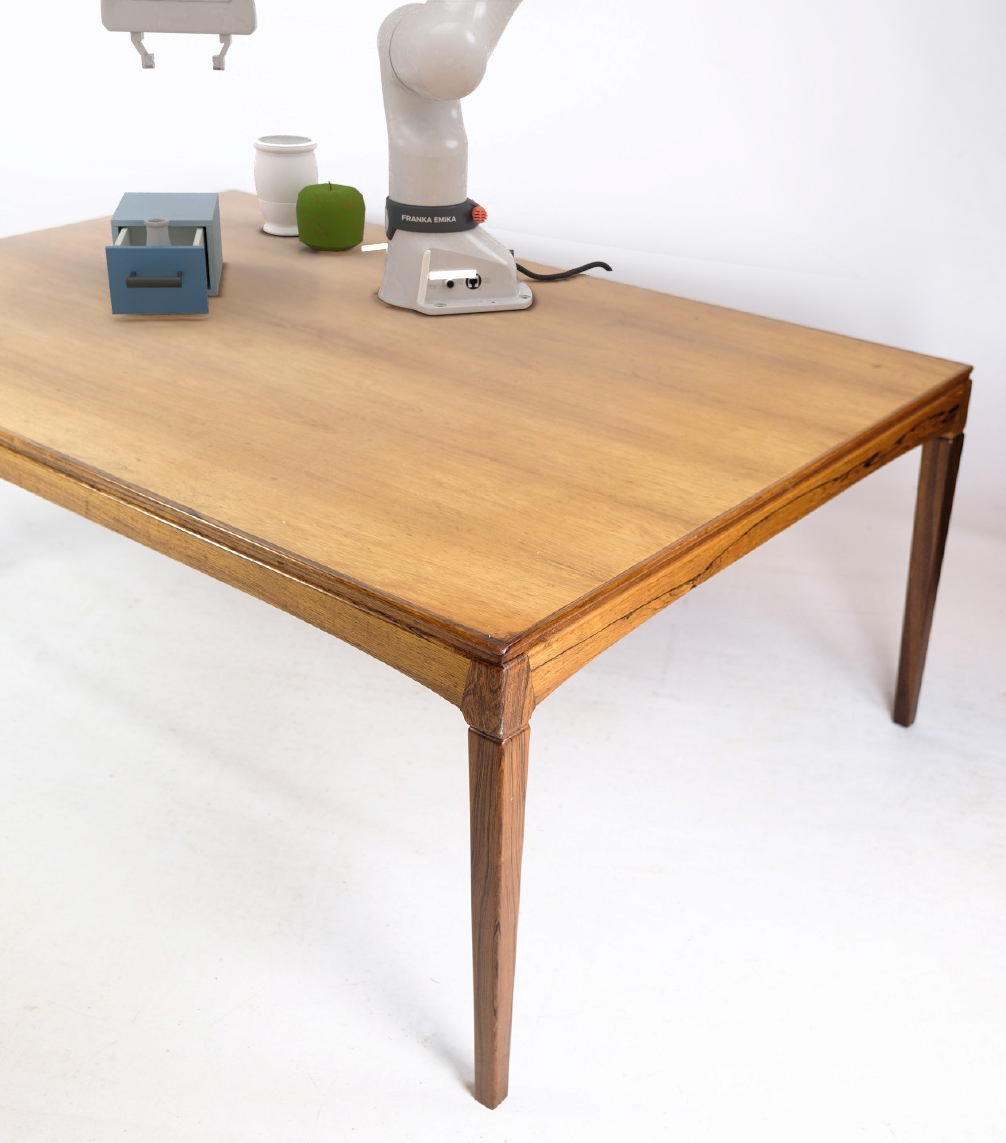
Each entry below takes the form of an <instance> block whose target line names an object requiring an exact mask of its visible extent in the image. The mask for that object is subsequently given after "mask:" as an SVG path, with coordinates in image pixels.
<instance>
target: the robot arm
mask: <svg viewBox="0 0 1006 1143" xmlns="http://www.w3.org/2000/svg"><path fill="white" fill-rule="evenodd" d="M523 1H524V0H426V1H425V3H422V2H411V3H407V4H404V5H402V6H399V7H397V8H396V9H394V10H392V11H391V12H390V13H389V14H388V15H387V16H386V17H385V18H384V19H383V21H382V22H381V24H380V26H379V28H378V31H377V34H376V35H377V36H376V50H377V54H378V55H377V56H378V60H379V71H380V83H381V91H382V101H383V108H384V117H385V122H386V131H387V144H388V195H387V196H386V197H385V206H384V231H385V232H384V233H385V236H386V238H387V241H386V243H378V244H377V243H376V244H370V245H369V244H368V245H362V246H361V251H362V252H366V251H376V250H383V249H386V253H385V261H384V267H383V273H382V277H381V281H380V286H379V290H378V292H377V297H378V298H379V299H380V300H382V301H383V302H385V303H387V304H389V305H391V306H395V307H399V308H406V309H410V310H414V311H417V312H420V313H422V314H425V315H431V316H437V315H438V316H439V315H453V314H469V313H482V312H484V313H485V312H496V311H511V310H523V309H525V310H526V309H527V308H529V307H530V306H531V305H532V304H533V300H534V299H533V292H532V290H531V287H529V286H528V285H527V283H525V282H524V281H522V280H520V279H519V276H518V275H519V274H518V272H520V273H521V274H523V275H524V276H526V277H528V278H530V279H532V280H536V281H542V282H543V281H547V282H548V281H555V280H561V279H567V278H569V277H572V276H574V275H577V274H582V273H584V272H586V271H589V270H591V269H594V268H601V269H603V270H605V271H606V272H613V271H614V270H613V268H612V267H611V265H609V264H608V263H606V262H604V261H600V260H599V261H592V262H589V263H586V264H584V265H581V266H579V267H575V268H572V269H569V270H566V271H563V272H557V273H551V274H540V273H535V272H533V271H531V270H529V269H527V268H525V267H524V266H522V265H521V264H519V263H517V262H516V260H515V249H508V248H507V247H506V246H505V245H504V244H503V243H501V242H500V241H499V240H498V239H497V238H496V237H494V236H493V235H492V234H491V233H489V232H488V231H487V230H486V229H485V228H483V226H481V225H480V224H484V223H485V222H486V221H487V220H488V212H487V211H486V208H484V207H483V206H481V204H480V203H477V202H476V201H475V200H474V199H471V198H470V197H468V173H469V172H468V170H469V169H468V168H469V167H468V166H469V165H468V164H469V159H468V158H469V140H468V136H467V132H466V128H465V123H464V118H463V117H464V116H463V112H462V111H463V110H462V105H461V104H462V103H461V99H463V98H466V97H468V96H470V94H472V93H473V92H474V91H476V89H477V88H478V87H479V86H480V84H481V83H482V82H483V79H484V77H485V74H486V71H487V66H488V62H489V60H490V59H491V56H492V55H493V53H494V51H495V49H496V48H497V46H498V44H499V42H500V40H501V38H502V36H503V34H504V32H505V30H506V29H507V26H508V25H509V23H510V22H511V20H512V18H513V16H514V14H515V13H516V11H517V10H518V8H519V6H520V5H521V4H522V2H523ZM100 18H101V20H100V21H101V24H102V26H104V28H105V29H106V30H107V31H108V32H115V33H116V32H117V33H119V32H120V33H129V34H130V42H131V43H132V45H133V46H134V48H135V49H136V51H137V52H138V54H139V55H140V59H141V67H142V69H147V70H148V69H149V70H150V69H152V70H153V69H155V68H156V61H155V53H151V52H148V51H147V49H146V47H145V45H144V44H143V42H142V41H144V40H145V33H155V34H156V33H157V34H192V35H193V34H194V35H218V36H219V37H218V38H219V43H220V44H223V45H222V47H221V49H220V52H219V54H213V55H212V56H211V58H212V63H213V64H212V70H213V71H225V70H226V55H227V53H228V51H229V49H230V47H231V45H232V43H233V36H251V35H252V34H253V33H254V32H256V30H257V28H258V16H257V8H256V2H255V0H100Z"/></svg>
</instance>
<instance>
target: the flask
mask: <svg viewBox="0 0 1006 1143" xmlns="http://www.w3.org/2000/svg"><path fill="white" fill-rule="evenodd" d="M144 224H145V225H146V227H147V243H146V246H171V242H170V239H169V234H168V225H169V224H170V220H168V219H166V218H158V217H156V218H148V219H146V220H144Z"/></svg>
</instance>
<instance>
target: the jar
mask: <svg viewBox="0 0 1006 1143" xmlns="http://www.w3.org/2000/svg"><path fill="white" fill-rule="evenodd" d="M252 146H253V147H254V148H255V149H256V153H255V156H254V164H253V165H254V166H253V179H254V186H255V191H256V195H257V201H258V206H259V209H260V213H261V214H262V216H263V218H264V220H265V222H264V224H263V226H262V230H263V231H264V232H266V233H267V234H269V235H274V236H281V237H282V236H283V237H295V236H299V234H298V226H297V216H296V204H297V199H298V193H299V192H300V191H301V190H302V189H303V188H304V187H305V186H309V185H315V184H319V168H318V162H317V157H316V154H315V150H316V149H317V148H318V140H317V139H315V138H313V137H312V138H311V137H307V136H302V135H301V136H300V135H299V136H298V135H290V134H287V135H286V134H279V135H275V134H274V135H264V136H260V137H255V138H254V139H253V140H252Z"/></svg>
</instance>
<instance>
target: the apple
mask: <svg viewBox="0 0 1006 1143" xmlns="http://www.w3.org/2000/svg"><path fill="white" fill-rule="evenodd" d="M366 210H367V208H366V202H365V200H364V195H363V194H362V192H361V191H360V190H359V189H357V188H356V187H354V186H350V185H346V184H345V185H344V184H339V183H331V181H330V180H328V182H327V183H326V182H324V183H318V184H315V185H309V186H305V187H304V188H303V189H302V190H301V191H300V192H299V193H298V199H297V204H296V216H297V226H298V234H299V235H298V240H299V242H300V243H302V244H304V245H305V246H307V247H309V248H311V249H313V250H314V251H319V252H325V253H326V252H328V253H339V252H340V253H341V252H346V251H350V250H352V249H354V248H355V247H357V246H358V245H360V244H362V243H363V242H364V235H365V233H364V232H365V224H366Z"/></svg>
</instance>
